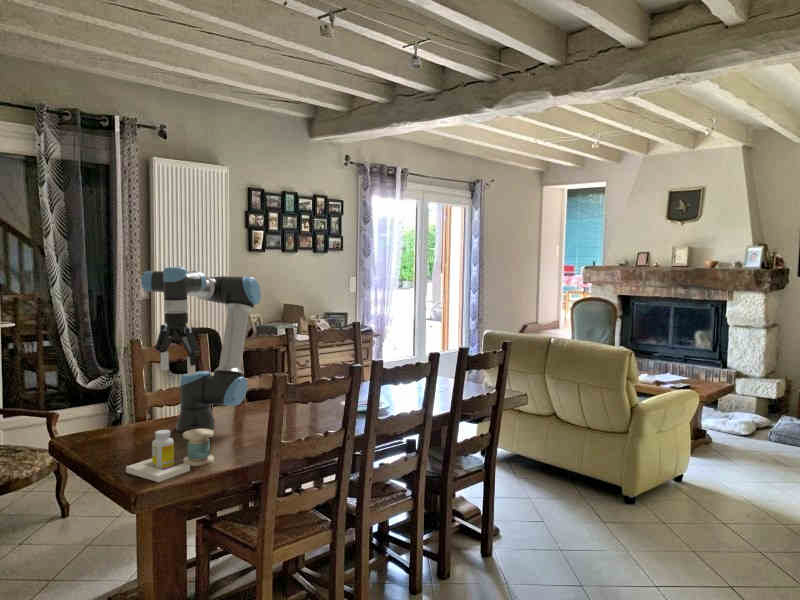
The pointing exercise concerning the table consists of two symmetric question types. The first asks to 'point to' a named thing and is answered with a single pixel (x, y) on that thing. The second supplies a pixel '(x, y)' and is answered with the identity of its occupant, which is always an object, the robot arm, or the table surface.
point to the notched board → (156, 471)
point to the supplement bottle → (162, 450)
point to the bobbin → (198, 447)
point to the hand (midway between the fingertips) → (178, 372)
